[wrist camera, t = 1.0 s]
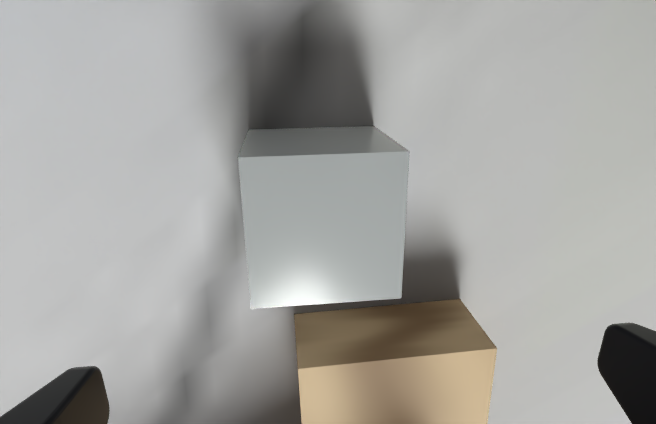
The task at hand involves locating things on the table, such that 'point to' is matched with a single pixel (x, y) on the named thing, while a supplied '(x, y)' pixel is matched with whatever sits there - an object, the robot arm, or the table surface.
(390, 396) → the oak block
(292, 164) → the stone cube
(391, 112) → the table surface
